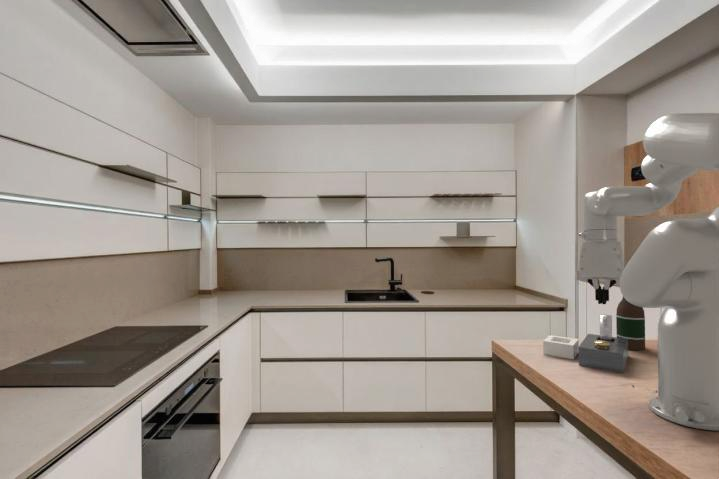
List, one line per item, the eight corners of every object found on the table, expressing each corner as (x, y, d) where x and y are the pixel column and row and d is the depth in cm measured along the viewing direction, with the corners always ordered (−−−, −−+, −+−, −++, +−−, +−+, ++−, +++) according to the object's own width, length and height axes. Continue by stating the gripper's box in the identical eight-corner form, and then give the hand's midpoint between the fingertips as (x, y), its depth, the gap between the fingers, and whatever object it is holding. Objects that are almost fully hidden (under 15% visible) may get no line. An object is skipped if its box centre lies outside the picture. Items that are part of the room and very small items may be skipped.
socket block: (623, 377, 95) (622, 353, 95) (578, 368, 102) (578, 347, 102) (628, 359, 108) (627, 338, 108) (588, 352, 115) (588, 333, 115)
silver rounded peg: (611, 358, 106) (611, 317, 106) (599, 356, 108) (598, 315, 108) (612, 355, 109) (612, 315, 109) (600, 353, 111) (600, 314, 111)
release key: (609, 368, 99) (608, 344, 99) (593, 365, 101) (593, 342, 101) (610, 364, 102) (610, 341, 102) (595, 361, 104) (595, 339, 104)
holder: (573, 362, 106) (573, 345, 106) (543, 357, 112) (543, 340, 112) (578, 355, 113) (578, 339, 113) (549, 350, 118) (549, 335, 118)
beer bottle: (622, 353, 114) (621, 275, 113) (611, 346, 121) (610, 273, 121) (651, 355, 112) (650, 276, 112) (638, 347, 119) (637, 273, 119)
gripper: (567, 237, 103) (568, 303, 103) (633, 235, 94) (635, 308, 93) (572, 237, 109) (573, 299, 109) (635, 235, 99) (637, 304, 99)
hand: (602, 303), depth 101 cm, fingers closed
